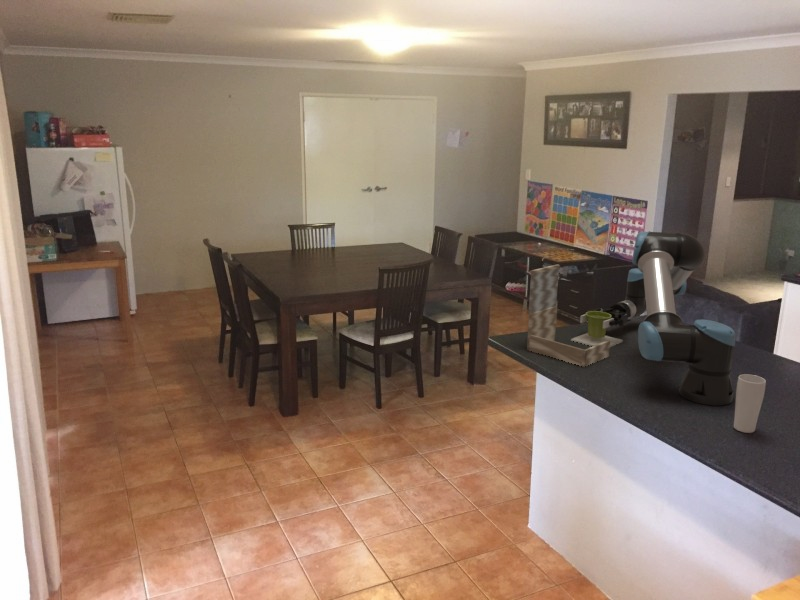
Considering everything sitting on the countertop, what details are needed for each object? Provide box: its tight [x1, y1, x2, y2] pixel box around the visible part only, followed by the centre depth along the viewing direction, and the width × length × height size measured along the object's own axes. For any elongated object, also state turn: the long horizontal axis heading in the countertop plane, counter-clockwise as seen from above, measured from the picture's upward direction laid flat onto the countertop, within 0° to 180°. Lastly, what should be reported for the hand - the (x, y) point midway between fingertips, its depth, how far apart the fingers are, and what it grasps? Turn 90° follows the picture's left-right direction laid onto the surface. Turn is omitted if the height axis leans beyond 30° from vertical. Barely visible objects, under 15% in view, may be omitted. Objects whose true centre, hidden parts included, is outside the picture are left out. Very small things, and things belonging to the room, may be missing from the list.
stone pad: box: [570, 332, 624, 348], centre depth 253 cm, size 14×14×1 cm
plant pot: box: [586, 311, 611, 338], centre depth 251 cm, size 9×9×9 cm
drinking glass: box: [733, 373, 767, 434], centre depth 179 cm, size 7×7×15 cm
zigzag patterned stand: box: [526, 264, 611, 368], centre depth 236 cm, size 16×24×30 cm
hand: (592, 322), depth 248 cm, fingers closed on plant pot, 9 cm apart
